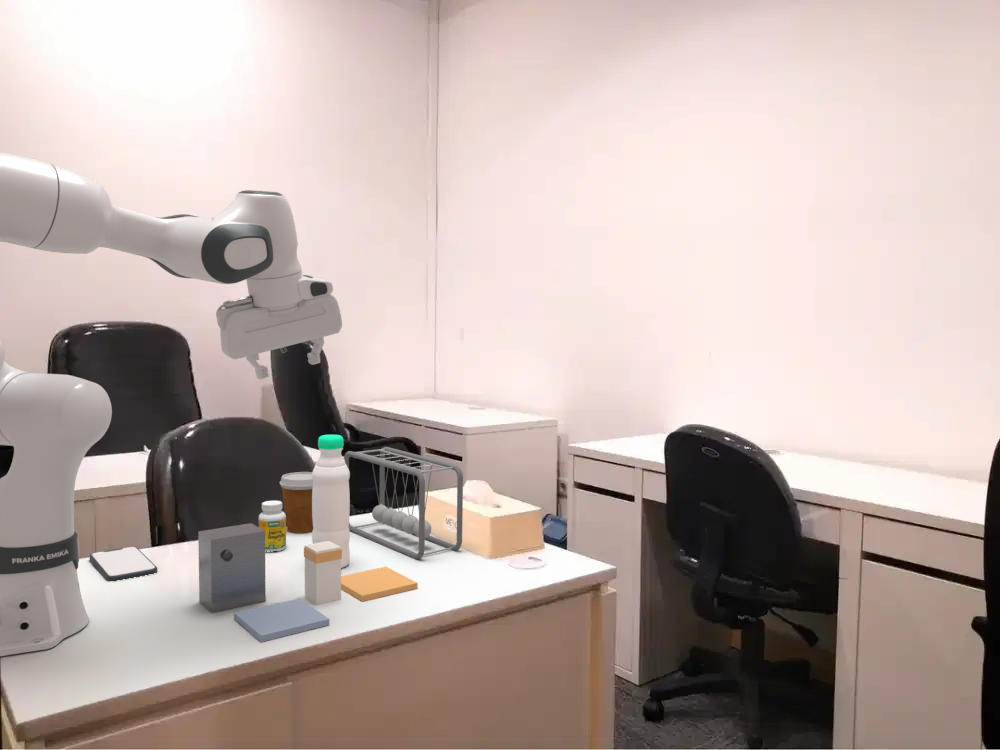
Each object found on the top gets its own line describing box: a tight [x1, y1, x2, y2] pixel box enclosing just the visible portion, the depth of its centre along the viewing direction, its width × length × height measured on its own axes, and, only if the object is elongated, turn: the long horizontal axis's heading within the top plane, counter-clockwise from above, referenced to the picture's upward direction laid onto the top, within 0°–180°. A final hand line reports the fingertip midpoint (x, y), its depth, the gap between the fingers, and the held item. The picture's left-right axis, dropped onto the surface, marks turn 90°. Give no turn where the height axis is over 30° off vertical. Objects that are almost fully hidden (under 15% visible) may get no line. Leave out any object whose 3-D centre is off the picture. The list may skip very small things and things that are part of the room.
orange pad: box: [341, 566, 419, 602], centre depth 145 cm, size 11×11×1 cm
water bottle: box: [311, 434, 351, 569], centre depth 156 cm, size 7×7×25 cm
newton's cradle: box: [343, 446, 464, 560], centre depth 173 cm, size 30×10×18 cm, turn 41°
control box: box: [197, 523, 267, 614], centre depth 136 cm, size 9×7×12 cm
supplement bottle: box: [258, 500, 287, 552], centre depth 166 cm, size 5×5×10 cm
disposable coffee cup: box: [279, 471, 313, 534], centre depth 180 cm, size 10×10×12 cm
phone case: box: [89, 546, 158, 582], centre depth 154 cm, size 9×2×16 cm
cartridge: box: [303, 541, 342, 605], centre depth 139 cm, size 5×5×9 cm
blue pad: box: [233, 597, 330, 643], centre depth 128 cm, size 11×11×1 cm
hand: (289, 370), depth 138 cm, fingers open, 8 cm apart
